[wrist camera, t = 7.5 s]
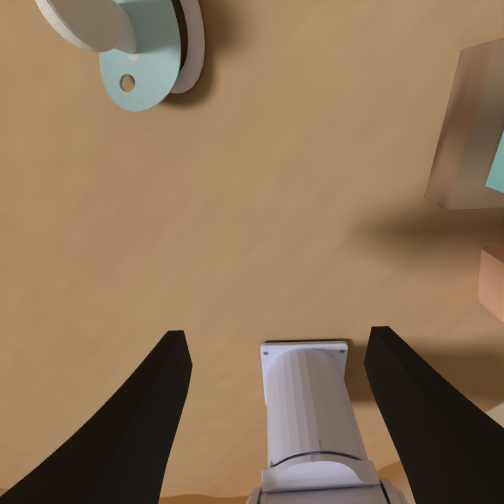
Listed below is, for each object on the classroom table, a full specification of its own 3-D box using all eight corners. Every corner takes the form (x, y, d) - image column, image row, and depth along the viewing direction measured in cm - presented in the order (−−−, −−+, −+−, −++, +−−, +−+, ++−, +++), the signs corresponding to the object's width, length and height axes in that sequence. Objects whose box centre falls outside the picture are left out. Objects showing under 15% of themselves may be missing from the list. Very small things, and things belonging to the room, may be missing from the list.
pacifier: (176, -89, 12) (61, -44, 13) (111, -261, 6) (-86, -165, 7) (222, 91, 15) (129, 119, 16) (205, 79, 10) (64, 122, 11)
